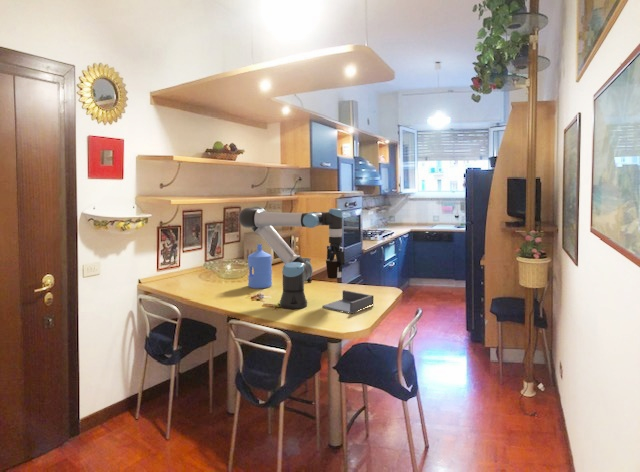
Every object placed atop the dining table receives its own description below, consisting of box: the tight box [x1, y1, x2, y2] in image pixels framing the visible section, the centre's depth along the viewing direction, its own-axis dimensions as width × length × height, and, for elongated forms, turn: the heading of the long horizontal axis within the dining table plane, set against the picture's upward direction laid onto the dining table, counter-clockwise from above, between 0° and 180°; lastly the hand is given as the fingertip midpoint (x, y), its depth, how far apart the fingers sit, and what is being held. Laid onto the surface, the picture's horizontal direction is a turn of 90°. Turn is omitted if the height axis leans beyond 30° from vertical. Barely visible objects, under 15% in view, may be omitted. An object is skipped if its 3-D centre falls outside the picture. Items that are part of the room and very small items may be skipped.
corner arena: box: [321, 289, 374, 314], centre depth 234 cm, size 20×20×6 cm
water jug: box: [247, 244, 273, 290], centre depth 283 cm, size 16×16×28 cm
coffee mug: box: [325, 258, 339, 280], centre depth 242 cm, size 12×9×10 cm
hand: (335, 276), depth 243 cm, fingers closed on coffee mug, 6 cm apart
